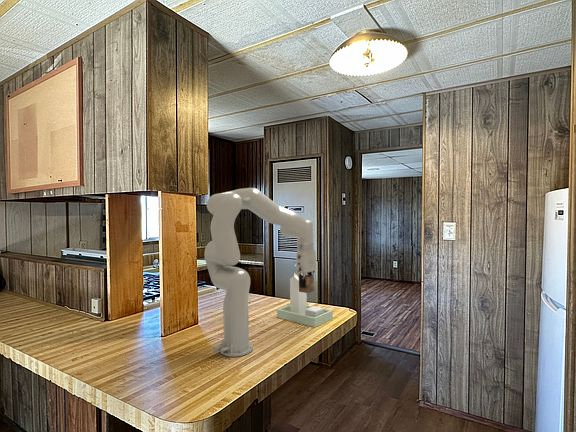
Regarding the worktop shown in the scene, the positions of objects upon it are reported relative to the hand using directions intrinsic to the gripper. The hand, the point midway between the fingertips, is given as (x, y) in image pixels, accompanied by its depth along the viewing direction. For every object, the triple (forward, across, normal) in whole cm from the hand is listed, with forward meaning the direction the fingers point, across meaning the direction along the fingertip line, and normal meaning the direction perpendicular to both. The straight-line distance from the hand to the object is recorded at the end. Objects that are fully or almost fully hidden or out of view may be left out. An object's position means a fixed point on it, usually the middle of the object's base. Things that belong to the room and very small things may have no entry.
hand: (306, 285), depth 154 cm
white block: (+19, +6, 0) cm, 20 cm away
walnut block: (+3, 0, 0) cm, 3 cm away
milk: (+19, +8, +12) cm, 23 cm away
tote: (+18, +7, +7) cm, 21 cm away
